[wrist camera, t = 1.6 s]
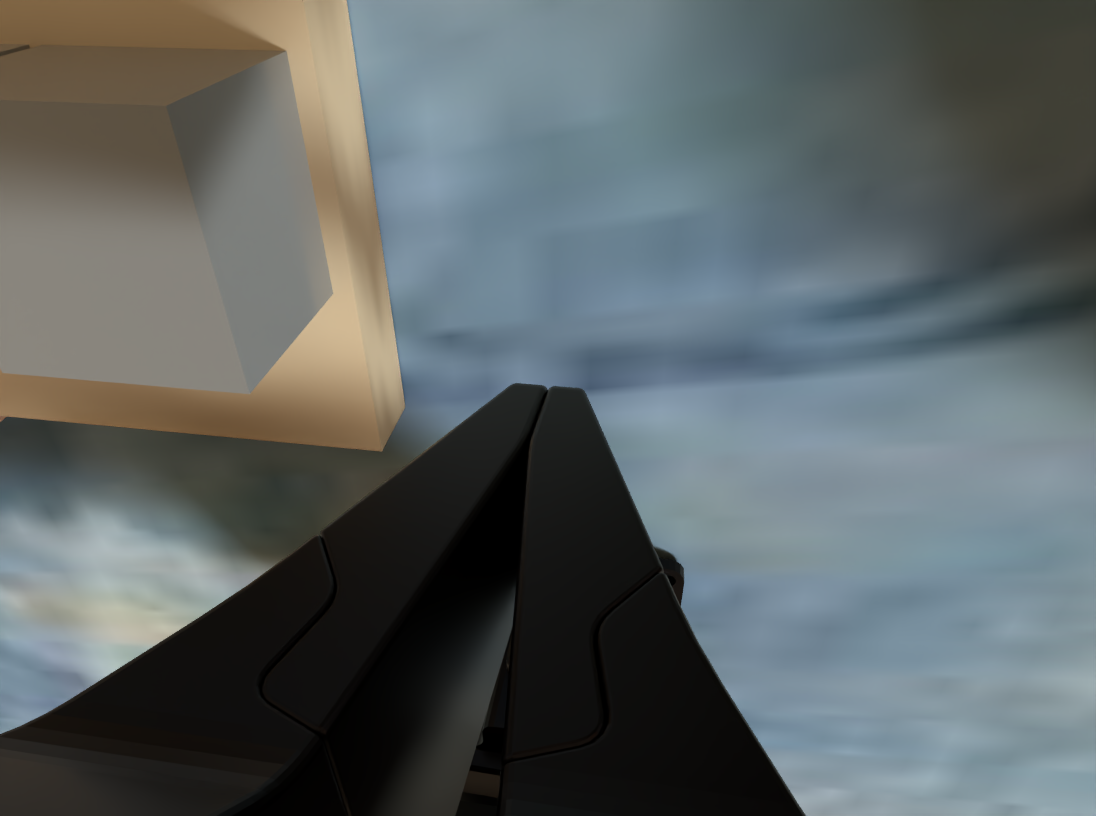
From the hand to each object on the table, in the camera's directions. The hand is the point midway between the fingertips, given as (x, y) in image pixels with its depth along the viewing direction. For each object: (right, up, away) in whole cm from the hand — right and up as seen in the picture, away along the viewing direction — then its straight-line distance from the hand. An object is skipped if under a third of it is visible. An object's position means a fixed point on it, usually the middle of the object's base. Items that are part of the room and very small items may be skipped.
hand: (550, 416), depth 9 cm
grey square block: (-7, +5, +7) cm, 11 cm away
